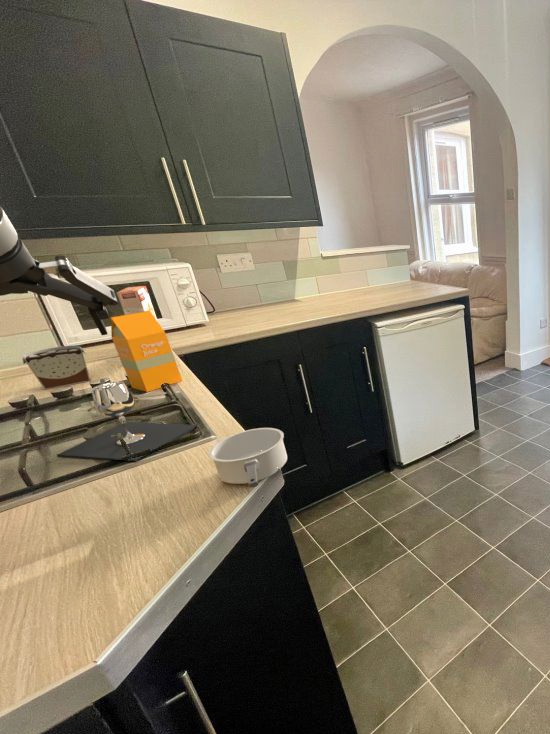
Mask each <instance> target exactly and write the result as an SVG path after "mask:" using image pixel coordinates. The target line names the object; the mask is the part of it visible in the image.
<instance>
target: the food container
mask: <svg viewBox="0 0 550 734" xmlns="http://www.w3.org/2000/svg"><path fill="white" fill-rule="evenodd" d="M84 354H85V355H86V354H87V352H86V351H85V349H84V348H83V347H81V346H80V345H63V346H62V345H61V346H56V347H47V348H43V349H39V350H36V351H32V352H29V353H26V354H24V355H22V364H23V365H25V364H27V366H28V367H29V369H30V370H31V372H32V373H33V374H34V377H35V378H36V380H38V382H39V384H40V385H41V386H42V388H43V390H45V391H46V390H51V389H56V388H62V387H67V386H73V385H78V384H84V383H89V382H91V381H92V380H91V377H90V373H89V370H88V366H87V363H86V359H85V356H84Z"/></svg>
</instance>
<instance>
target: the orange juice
mask: <svg viewBox="0 0 550 734" xmlns="http://www.w3.org/2000/svg"><path fill="white" fill-rule="evenodd" d="M157 321H158V319H157V320H156V319H155V318H154V316H153V315H152V313H151V312H150V310H148V311H143V312H138V313H132V314H127V315H125V314H122V315H117V316H111V317H110V327H111V331H110V333H111V340H112V342H113V344H114V347H115V350H116V352H117V354H118V357H119V360H120V362H121V365H122V367H123V369H124V371H125V375H126V376H127V380H128V381H129V384H130V387H131V388H132V389H135V390H137V391H141V392H146V393H148V392H151V391H154V390H157V389H160V388H162V387H161V385H162V384H164V383H169V384H170V385H173V384H175V383H178V382H182V381H183V380H182V375H181V373H180V370H179V368H178V364H177V362H176V359H175V356H174V353H173V350H172V348H171V345H170V342H169V339H168V336H167V333H166V331H165V329H164V328H163V327H162V326H161V324H160V323H159V321H158V322H157Z"/></svg>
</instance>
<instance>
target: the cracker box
mask: <svg viewBox="0 0 550 734" xmlns="http://www.w3.org/2000/svg"><path fill="white" fill-rule="evenodd" d="M116 294H117V295H116V296H117V297H118V300H119V303H120V306H121V308H122V311H123V315H127V314H132V313H138V312H143V311H148V310H150V312H151V313H152V315H153V316H154V318H155V319H156V320H157V322H158V323H159V321H158V317H157V315H156V312H155V309H154V306H153V303H152V299H151V297H150V293H149V291H148V288H147V286H146V285H139V286H127V287H125V288H123V289H121V290H119V291H118V292H116Z"/></svg>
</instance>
